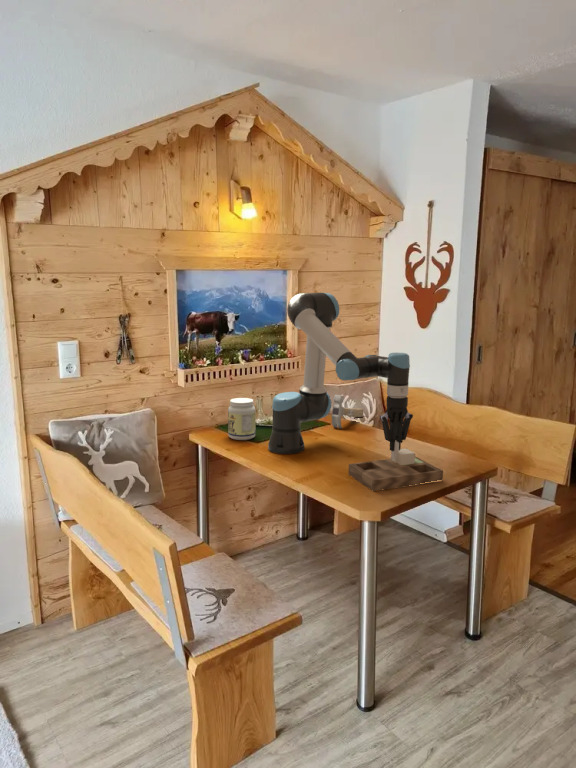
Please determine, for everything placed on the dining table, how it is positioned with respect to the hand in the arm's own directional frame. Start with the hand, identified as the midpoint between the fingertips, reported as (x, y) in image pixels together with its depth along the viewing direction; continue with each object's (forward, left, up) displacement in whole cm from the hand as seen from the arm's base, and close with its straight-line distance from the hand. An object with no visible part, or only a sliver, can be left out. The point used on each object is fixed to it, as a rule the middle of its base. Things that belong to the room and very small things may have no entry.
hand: (394, 458), depth 209 cm
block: (+4, 0, -2) cm, 4 cm away
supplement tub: (-38, +66, -6) cm, 76 cm away
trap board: (-2, -4, -6) cm, 7 cm away
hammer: (+18, +72, -6) cm, 74 cm away
